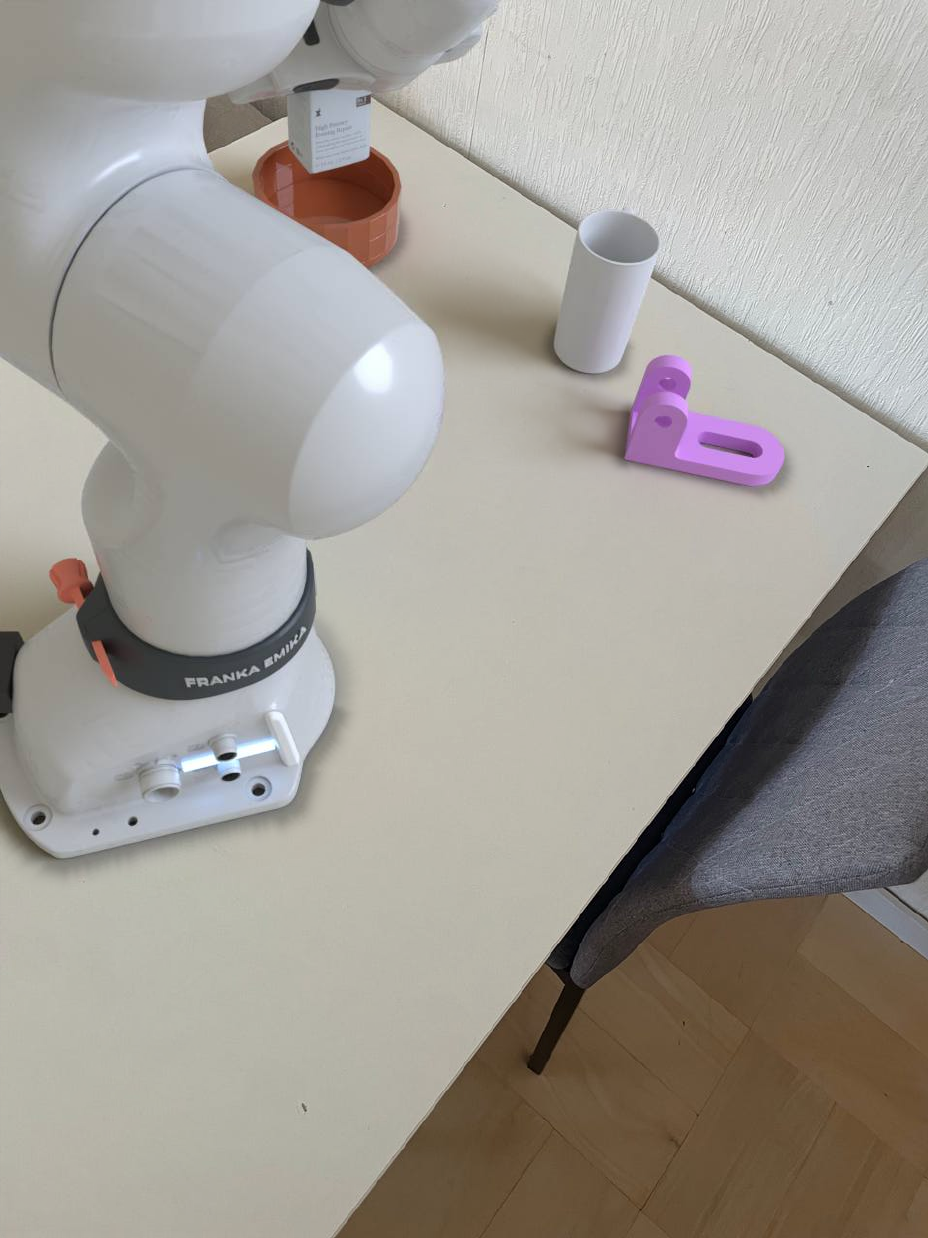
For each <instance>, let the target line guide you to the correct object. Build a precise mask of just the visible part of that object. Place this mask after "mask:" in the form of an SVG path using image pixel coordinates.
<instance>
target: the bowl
mask: <svg viewBox="0 0 928 1238" xmlns="http://www.w3.org/2000/svg"><path fill="white" fill-rule="evenodd" d="M251 176H252V177H251V178H252V192H253V197H255V198H257V199H259V200H260V201H262V202H264V203H265V204H267V205H269V206H270V207H272V208H274V209H276V210H277V211H279V212H281V213H282V214H284V215H286V216H287V217H289V218H291V219H293V220H294V221H296V222H298V223H299V224H301V225H303V226H304V227H306V228H308V229H310V230H311V231H313V232H315V233H316V234H318V235H320V236H321V237H323V238H325V239H327V240H328V241H330V242H332V243H333V244H335V245H337V246H338V247H340V248H342V249H344V250H345V251H347V252H349V253H350V254H351V255H352V256H353V257H354V258H356V259H357V260H358V261H359V262H360V263H361V264H362V265H363V266H365V267H366V268H367V269H368V268H370V267H372V266H374V265H376V264H377V263H378V264H379V262H381V261H382V260H383V259H385V258H386V257H387V256H388V255H389V254H390V253H391V251H392V250H393V248H394V247H395V245H396V244H397V243H396V242H397V240H398V236H399V227H400V218H401V205H402V204H401V202H402V189H403V185H402V181H401V177H400V172H399V171H398V169H397V168H396V167H395V166H394V163H392V161H391V160H390V159H389V158H388V157H387V156H385V154H383V153H382V152H380V151H379V150H377V149H375V148H374V147H373V146H370V153H369V157H368V158H367V159H365V160H362V161H359V162H356V163H352V164H349V165H345V166H342V167H338V168H334V169H331V170H327V171H323V172H319V173H314V174H310V173H309V172H308V171H307V170H306V169H305V167H304V166H303V165H302V164H301V163H300V161H299V160H298V159H297V158H296V156H295V155H294V154H293V153H292V151H291V150H290V149H289V139H286V140H285V141H282V142H281V143H278V144H276V145H274V146H271V147H270V148H269V149H268V150H266V151H265V152H264V153H263V154H262V155H261V156H260V157H259V158H258V159H257V161H256V164H255V167H254V168H253V171H252V173H251Z"/></svg>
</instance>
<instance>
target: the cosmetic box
mask: <svg viewBox="0 0 928 1238" xmlns="http://www.w3.org/2000/svg"><path fill="white" fill-rule="evenodd" d="M286 111H287V113H286V114H287V136H288V140H289V149H290V150H291V151H292V153H293V154H294V155H295V156H296V158H297V159H298V160H299V161H300V163H301V164H302V165H303V166H304V167H305V169H306V170H307V171H308V172H309V173H310V174H314V173H319V172H323V171H327V170H331V169H334V168H338V167H342V166H345V165H349V164H352V163H356V162H359V161H362V160H365V159H367V158H368V157H369V153H370V147H371V114H372V92H369V91H366V90H357V91H354V90H341V89H329V90H317V91H308V92H301V93H296V94H292V95H288V96H286Z"/></svg>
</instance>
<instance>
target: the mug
mask: <svg viewBox="0 0 928 1238" xmlns="http://www.w3.org/2000/svg"><path fill="white" fill-rule="evenodd" d="M661 248H662V239H661V236H660V234H659V232H658V231H657V229H656V227H654V225H653V224H652V223H650V222H649V221H648V220H647V219H646V218H644V217H642V216H640V215H638V214H636V213H635V210H634V209H633V208H631V207H629V206H626V207H623V208H622V209H617V208H616V209H615V208H610V209H609V208H606V209H600V210H595V211H593V212H590V213H588V214H587V215H586V216H584V217H583V218H582V220H580V222H579V224H578V227H577V232H576V235H575V239H574V244H573V247H572V252H571V257H570V262H569V265H568V266H569V267H568V270H567V275H566V276H567V277H566V280H565V285H564V291H563V295H562V298H561V299H562V300H561V304H560V309H559V314H558V317H557V322H556V326H555V333H554V337H553V338H554V339H553V349H554V352H555V354H556V356H557V358H559V360H560V361H561V362H562V363H563V364H564V365H565V366H566V367H569V368H570V369H572V370H575V371H577V372H581V373H584V374H590V375H591V374H595V375H596V374H597V375H598V374H603V373H606V372H609V371H611V370H613V369H614V368H616V367H617V366H618V364H619V363H620V362H621V360H622V358H623V355H624V353H625V350H626V348H627V345H628V343H629V339H630V337H631V334H632V331H633V329H634V325H635V322H636V319H637V317H638V313H639V311H640V308H641V305H642V303H643V300H644V297H645V294H646V292H647V289H648V286H649V283H650V281H651V278H652V274H653V272H654V269H655V266H656V263H657V260H658V256H659V254H660V251H661Z"/></svg>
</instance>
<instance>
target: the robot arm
mask: <svg viewBox="0 0 928 1238" xmlns="http://www.w3.org/2000/svg"><path fill="white" fill-rule="evenodd" d="M501 1H502V0H0V358H1V360H4V361H5V362H7V363H8V364H10V365H11V366H12V367H13V368H15V369H17V370H18V371H20V372H21V373H22V374H24V375H26V376H27V377H28V378H30V379H31V380H33V381H34V382H36V383H37V384H39V385H40V386H41V387H43V388H45V389H46V390H47V391H48V392H51V393H52V394H53V395H55V396H56V397H57V398H59V399H61V400H62V401H64V402H65V403H66V404H67V405H69V406H71V407H72V408H73V409H74V410H75V411H76V412H77V413H79V414H80V415H82V416H83V417H84V418H86V419H87V420H88V421H89V422H91V423H92V424H93V425H94V426H95V427H96V428H97V429H98V430H99V431H101V433H102V434H103V435H104V436H105V437H106V438H107V439H108V441H107V442H106V443H105V445H104V446H103V447H102V449H101V450H100V451H99V453H98V454H97V457H96V459H95V460H94V462H93V464H92V465H91V467H90V469H89V472H88V474H87V476H86V479H85V481H84V484H83V487H82V492H81V500H80V501H81V502H80V503H81V516H82V521H83V524H84V527H85V530H86V533H87V536H88V539H89V542H90V545H91V548H92V551H93V553H94V557H95V560H96V563H97V566H98V569H99V571H98V574H97V577H96V580H95V583H92V581H91V580H90V579H89V575H88V569H87V566H86V564H85V562H84V561H83V560H81V559H78V558H77V557H76V558H74V557H70V558H69V557H68V558H64V559H62V560H58V561H57V562H56V563H54V564H53V565H52V566H51V568H50V569H49V571H48V573H49V574H48V576H49V578H50V581H51V583H52V584H53V586H54V587H55V589H56V591H57V592H56V593H57V598H58V600H59V601H60V602H62V603H64V604H67V605H71V604H74V605H73V606H71V607H70V608H69V609H67V610H66V611H65V612H64V613H62V614H61V615H60V616H59V617H57V618H56V619H54V620H53V621H52V622H50V623H49V624H47V626H45V627H44V628H43V629H41V630H40V631H38V632H37V633H36V634H34V635H33V636H32V637H30V638H29V639H27V640H26V642H25V641H24V639H23V637H22V635H21V633H20V631H17V630H16V631H15V630H14V631H12V630H0V714H6V715H5V716H3V717H0V791H1V794H2V796H3V799H4V801H5V803H6V805H7V807H8V809H9V811H10V813H11V815H12V817H13V818H14V820H15V821H16V823H17V824H18V827H20V829H21V830H22V831H23V832H24V834H25V835H26V836H27V837H28V838H29V839H30V840H31V842H33V843H34V844H35V845H36V846H37V847H39V848H40V849H42V850H43V851H44V852H45V853H47V854H49V855H50V856H52V857H54V858H56V859H61V860H63V859H70V858H76V857H80V856H84V855H88V854H93V853H97V852H102V851H107V850H109V849H114V848H119V847H122V846H127V845H131V844H135V843H139V842H143V841H148V840H152V839H156V838H160V837H165V836H169V835H173V834H177V833H181V832H186V831H189V830H193V829H197V828H202V827H203V828H204V827H207V826H211V825H215V824H220V823H224V822H227V821H231V820H236V819H240V818H244V817H248V816H253V815H256V814H260V813H265V812H269V811H273V810H277V809H281V808H283V807H286V806H288V805H290V803H291V802H293V800H294V799H295V798H296V797H295V796H296V795H297V792H298V789H299V786H300V782H301V779H302V778H301V777H302V773H303V767H304V762H305V760H306V758H307V756H308V755H309V753H310V751H311V750H312V748H313V747H314V746H315V744H316V743H317V741H318V740H319V738H320V737H321V735H322V734H323V732H324V731H325V728H326V726H327V724H328V723H329V720H330V717H331V714H332V711H333V708H334V703H335V697H336V676H335V671H334V666H333V662H332V660H331V657H330V654H329V652H328V650H327V648H326V647H325V645H324V643H323V642H322V640H321V638H320V637H319V636H318V634H317V631H316V628H315V624H314V621H315V617H316V613H317V596H318V584H317V575H316V569H315V564H314V560H313V556H312V552H311V550H309V548H308V547H307V541H320V540H325V539H329V538H333V537H337V536H340V535H343V534H345V533H349V532H352V531H354V530H356V529H358V528H360V527H362V526H364V525H365V524H368V523H370V522H371V521H374V520H375V519H377V518H378V517H379V516H381V515H382V514H383V513H385V512H386V511H388V510H389V509H390V508H391V507H393V506H394V505H395V504H396V503H397V502H398V501H399V500H400V499H402V497H403V496H404V495H405V494H406V493H407V492H408V491H409V490H410V488H411V487H412V486H413V484H414V483H415V482H416V481H417V479H419V477H420V475H421V474H422V472H423V471H424V469H425V467H426V466H427V464H428V461H429V460H430V458H431V455H432V453H433V451H434V449H435V446H436V443H437V441H438V438H439V435H440V431H441V428H442V423H443V418H444V413H445V406H446V374H445V363H444V357H443V354H442V348H441V344H440V341H439V339H438V336H437V335H436V333H435V331H433V329H432V328H431V327H430V326H429V325H428V324H427V323H426V322H425V321H424V320H423V319H422V318H421V317H420V316H419V315H418V314H417V313H416V312H414V310H412V309H411V308H410V307H409V305H407V304H406V303H405V302H404V301H403V300H402V299H401V298H400V297H399V296H398V295H397V294H396V293H395V292H394V291H392V289H391V288H390V287H388V286H387V285H386V284H385V283H384V282H383V281H381V279H379V278H378V277H377V276H376V275H375V274H374V273H372V272H371V271H370V270H369V269H368V268H366V267H365V266H363V265H362V264H361V263H360V262H359V261H358V260H357V259H356V258H354V257H353V256H352V255H351V254H350V253H349V252H347V251H345V250H344V249H342V248H340V247H338V246H337V245H335V244H333V243H332V242H330V241H328V240H327V239H325V238H323V237H321V236H320V235H318V234H316V233H315V232H313V231H311V230H310V229H308V228H306V227H304V226H303V225H301V224H299V223H298V222H296V221H294V220H293V219H291V218H289V217H287V216H286V215H284V214H282V213H281V212H279V211H277V210H276V209H274V208H272V207H270V206H269V205H267V204H265V203H264V202H262V201H260V200H259V199H257V198H255V197H254V195H251V194H250V193H249V192H247V191H245V190H243V189H241V188H240V187H239V186H237V185H235V184H233V183H231V182H230V181H229V180H227V178H225V177H224V176H223V175H221V174H220V173H219V172H218V171H217V170H216V168H215V167H214V165H213V162H212V160H211V158H210V155H209V154H208V151H207V147H206V143H205V138H204V119H205V118H204V117H205V110H206V105H207V99H211V98H214V97H219V96H223V95H226V96H227V98H228V100H229V101H230V103H232V104H235V105H244V104H248V103H252V102H257V101H261V100H263V101H264V100H267V99H272V98H279V97H280V98H283V97H287V96H288V95H292V94H296V93H301V92H308V91H317V90H329V89H341V90H354V91H357V90H366V91H369V92H371V93H376V94H387V93H388V94H389V93H392V92H396V91H399V90H401V89H404V88H405V87H407V86H408V85H409V84H411V83H412V82H414V81H415V80H416V79H417V78H418V77H419V76H421V75H422V74H424V72H426V71H427V70H428V69H429V68H431V67H433V66H437V65H442V64H447V63H451V62H454V61H457V60H458V59H461V58H463V57H464V56H466V55H467V54H468V53H469V52H471V50H472V49H473V48H474V47H475V46H476V45H477V44H478V43H479V42H480V40H481V39H482V37H483V34H484V30H483V25H482V24H483V22H485V20H487V19H488V18H491V16H492V15H493V14H495V13H496V12H497V11H498V10H499V7H498V6H499V4H500V2H501ZM259 788H260V789H263V791H264V793H263V794H261V795H255V794H253V792H254V791H255V790H256V789H259ZM40 816H43V817H45V819H44V821H42V822H41V823H39V824H34V822H35V820H36V819H37V818H39V817H40ZM133 823H135V824H134V825H132V824H133Z"/></svg>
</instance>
